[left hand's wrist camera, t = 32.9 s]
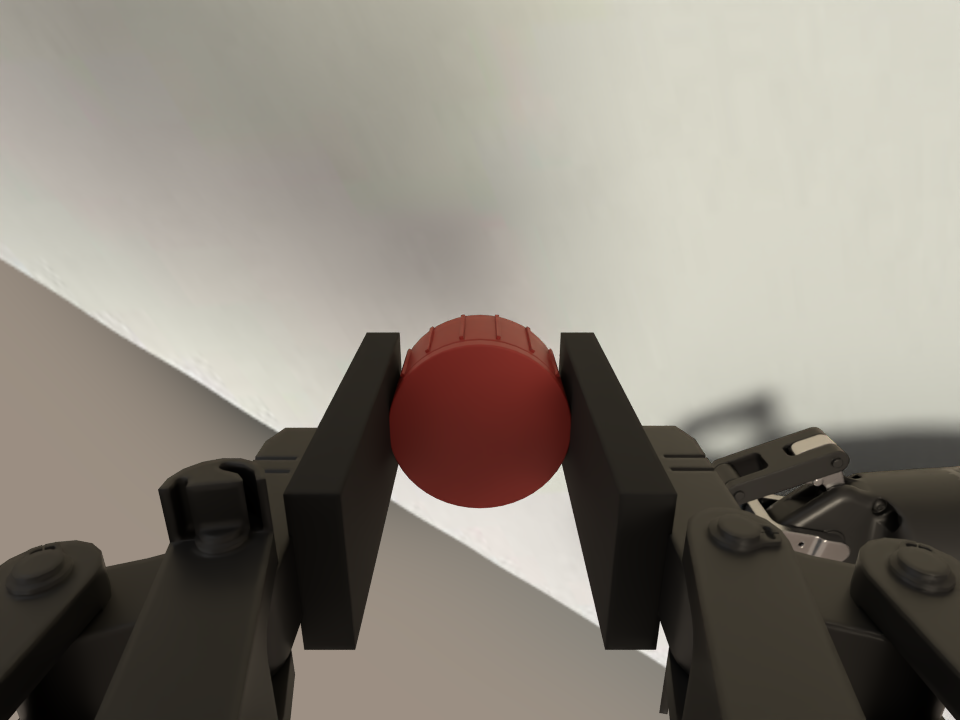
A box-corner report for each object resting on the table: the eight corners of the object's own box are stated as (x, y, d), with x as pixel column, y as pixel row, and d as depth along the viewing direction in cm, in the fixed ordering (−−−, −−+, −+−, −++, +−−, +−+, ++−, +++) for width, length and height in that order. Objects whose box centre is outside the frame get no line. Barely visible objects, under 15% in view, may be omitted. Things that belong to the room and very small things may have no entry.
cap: (595, 391, 15) (612, 431, 13) (480, 489, 16) (480, 539, 14) (480, 277, 14) (480, 303, 12) (364, 391, 15) (347, 431, 13)
